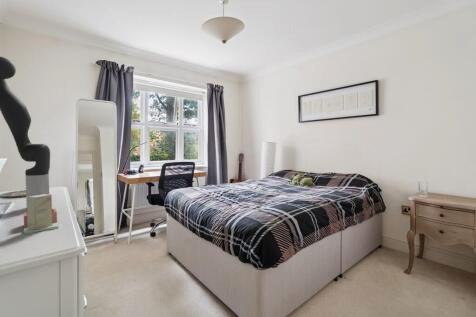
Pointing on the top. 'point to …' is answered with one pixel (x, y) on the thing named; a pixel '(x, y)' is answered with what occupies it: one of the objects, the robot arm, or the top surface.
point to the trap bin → (54, 218)
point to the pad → (53, 226)
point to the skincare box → (39, 211)
